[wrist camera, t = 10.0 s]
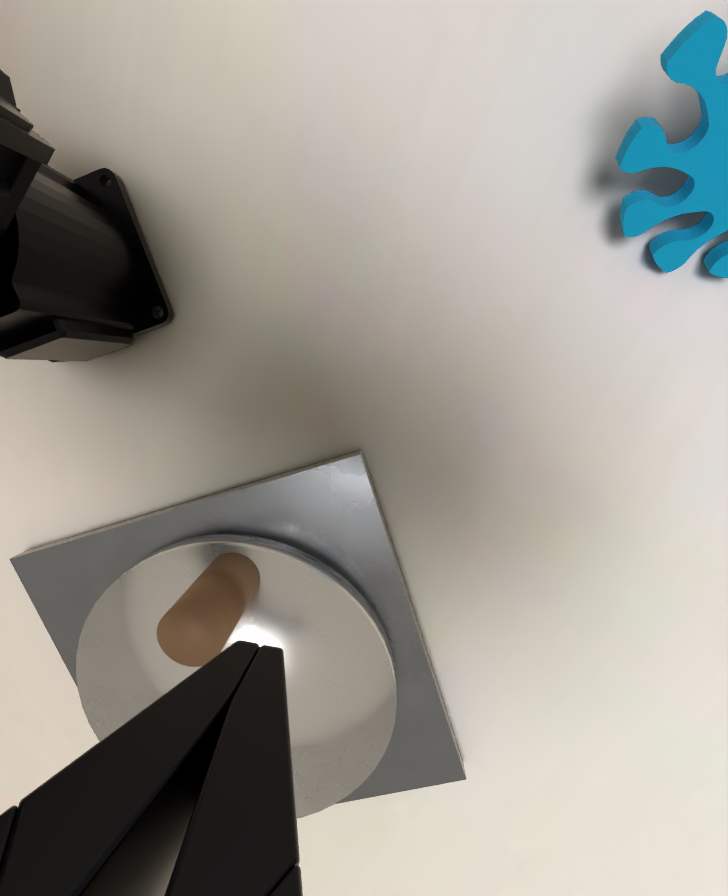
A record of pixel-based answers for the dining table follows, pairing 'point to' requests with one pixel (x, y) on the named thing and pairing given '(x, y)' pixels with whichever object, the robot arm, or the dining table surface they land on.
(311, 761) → the metal crank wheel
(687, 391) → the dining table surface
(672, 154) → the gear
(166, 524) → the base
